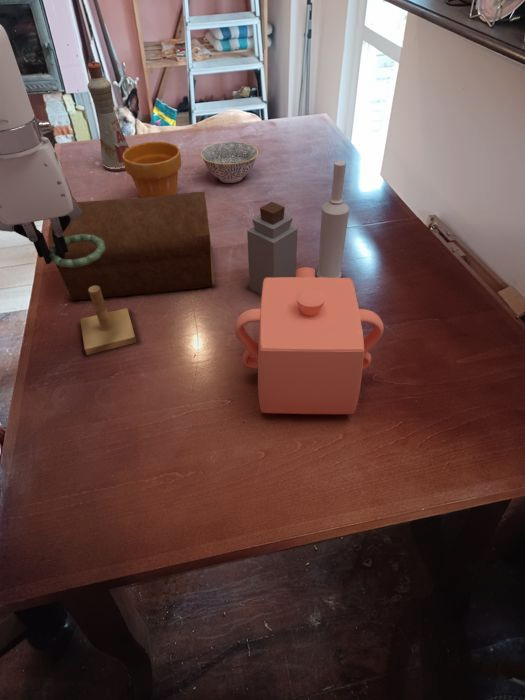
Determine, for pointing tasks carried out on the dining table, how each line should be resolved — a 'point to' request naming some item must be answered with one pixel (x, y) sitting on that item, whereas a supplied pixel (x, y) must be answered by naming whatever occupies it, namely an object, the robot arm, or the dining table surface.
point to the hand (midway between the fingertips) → (55, 257)
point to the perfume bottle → (271, 246)
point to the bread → (141, 246)
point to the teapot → (309, 344)
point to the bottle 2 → (333, 227)
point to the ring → (79, 261)
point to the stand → (105, 326)
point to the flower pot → (153, 168)
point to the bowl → (229, 160)
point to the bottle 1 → (107, 119)
